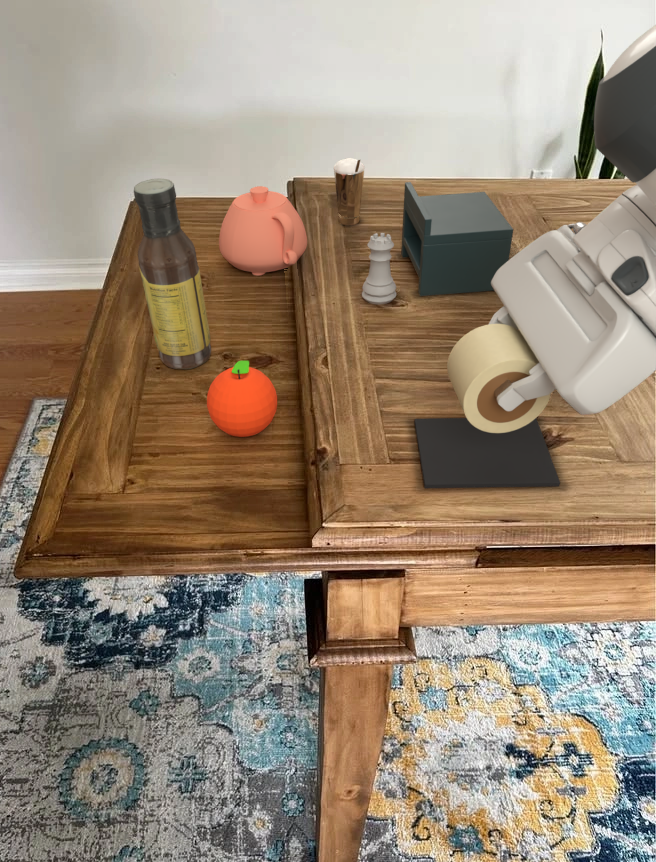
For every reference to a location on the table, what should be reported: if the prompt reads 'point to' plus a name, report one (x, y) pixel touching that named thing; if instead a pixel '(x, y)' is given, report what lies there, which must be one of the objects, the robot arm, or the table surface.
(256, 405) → the clementine
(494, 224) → the shelf
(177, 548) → the table surface
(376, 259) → the rook chess piece
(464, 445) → the mat
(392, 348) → the table surface
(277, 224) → the sugar bowl
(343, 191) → the milkshake
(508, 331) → the tape roll
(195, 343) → the sauce bottle
